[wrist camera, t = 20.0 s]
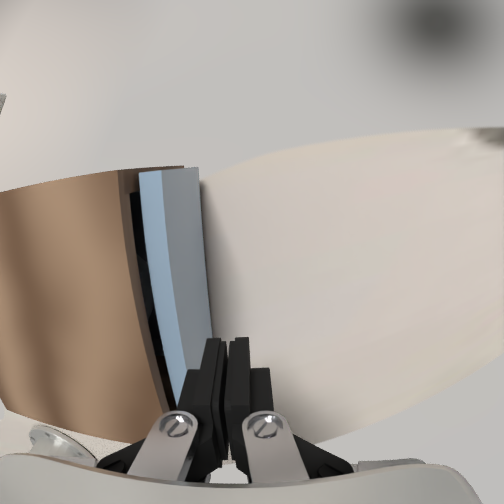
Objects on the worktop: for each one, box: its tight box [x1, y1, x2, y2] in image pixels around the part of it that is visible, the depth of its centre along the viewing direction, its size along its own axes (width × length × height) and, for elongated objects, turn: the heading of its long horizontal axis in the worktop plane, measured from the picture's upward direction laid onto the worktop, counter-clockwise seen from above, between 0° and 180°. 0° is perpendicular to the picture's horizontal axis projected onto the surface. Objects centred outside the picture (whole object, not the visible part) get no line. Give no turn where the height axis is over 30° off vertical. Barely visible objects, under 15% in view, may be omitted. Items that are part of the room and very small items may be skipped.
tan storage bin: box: [0, 166, 184, 444], centre depth 18 cm, size 14×15×12 cm
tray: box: [129, 167, 213, 405], centre depth 18 cm, size 14×15×9 cm
